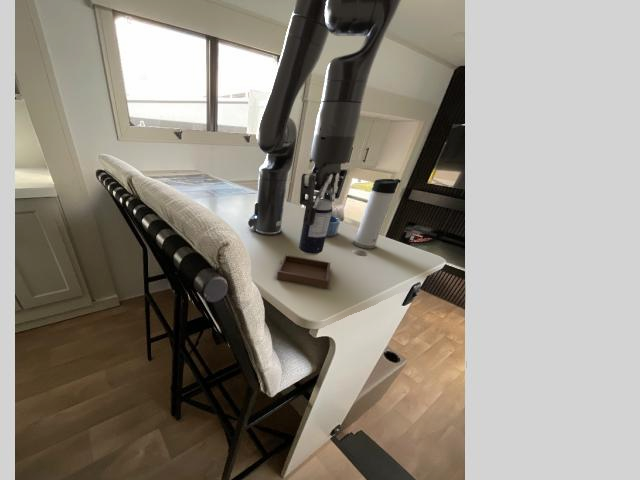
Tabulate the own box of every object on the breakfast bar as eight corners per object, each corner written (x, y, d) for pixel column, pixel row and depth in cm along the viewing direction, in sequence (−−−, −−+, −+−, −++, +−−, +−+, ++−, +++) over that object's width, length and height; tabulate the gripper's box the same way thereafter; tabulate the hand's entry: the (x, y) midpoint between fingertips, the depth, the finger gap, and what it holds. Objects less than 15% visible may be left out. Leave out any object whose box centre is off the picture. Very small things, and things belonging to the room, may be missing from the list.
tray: (276, 278, 63) (277, 271, 61) (283, 261, 71) (285, 254, 69) (326, 288, 60) (328, 281, 59) (328, 269, 68) (330, 262, 66)
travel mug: (377, 250, 79) (404, 181, 68) (355, 247, 80) (378, 179, 69) (373, 242, 84) (397, 177, 73) (352, 240, 85) (373, 175, 74)
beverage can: (324, 250, 62) (337, 200, 55) (317, 259, 58) (330, 206, 51) (302, 245, 65) (312, 196, 58) (294, 252, 61) (303, 201, 54)
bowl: (308, 234, 88) (311, 220, 85) (310, 226, 95) (313, 212, 92) (336, 238, 86) (339, 224, 83) (336, 229, 93) (340, 216, 90)
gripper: (336, 132, 54) (318, 212, 63) (295, 132, 45) (283, 223, 55) (370, 134, 49) (346, 219, 59) (332, 134, 41) (311, 233, 51)
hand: (315, 221), depth 57 cm, fingers closed on beverage can, 5 cm apart
